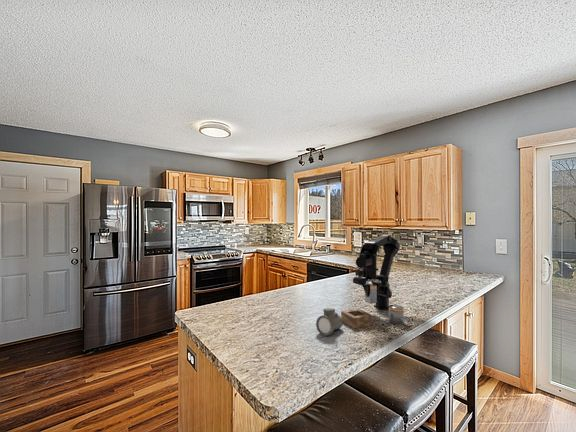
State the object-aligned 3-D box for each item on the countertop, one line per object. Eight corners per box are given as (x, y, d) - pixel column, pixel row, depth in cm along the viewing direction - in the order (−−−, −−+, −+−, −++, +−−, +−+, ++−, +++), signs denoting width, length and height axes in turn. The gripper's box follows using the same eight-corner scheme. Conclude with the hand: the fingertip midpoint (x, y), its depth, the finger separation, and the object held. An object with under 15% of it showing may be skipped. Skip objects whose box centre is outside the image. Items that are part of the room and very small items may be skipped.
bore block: (358, 317, 136) (358, 308, 136) (372, 324, 127) (372, 315, 127) (341, 320, 132) (341, 311, 132) (354, 328, 123) (354, 318, 123)
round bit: (396, 318, 135) (396, 304, 135) (407, 323, 129) (406, 308, 129) (385, 320, 132) (385, 305, 132) (396, 325, 126) (396, 310, 126)
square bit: (371, 300, 145) (371, 283, 145) (376, 303, 141) (376, 285, 141) (365, 301, 143) (365, 284, 143) (370, 304, 140) (370, 286, 140)
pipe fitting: (331, 337, 112) (331, 311, 114) (315, 334, 118) (315, 309, 119) (346, 332, 121) (346, 308, 123) (331, 329, 126) (330, 305, 128)
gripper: (374, 262, 154) (374, 290, 153) (346, 264, 146) (346, 294, 146) (389, 265, 143) (389, 295, 143) (359, 268, 136) (359, 300, 136)
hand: (370, 296), depth 142 cm, fingers closed on square bit, 4 cm apart
